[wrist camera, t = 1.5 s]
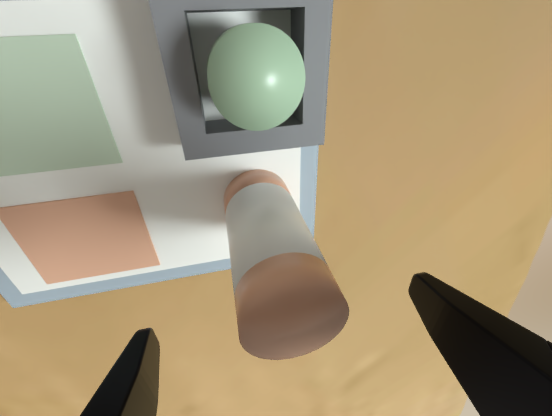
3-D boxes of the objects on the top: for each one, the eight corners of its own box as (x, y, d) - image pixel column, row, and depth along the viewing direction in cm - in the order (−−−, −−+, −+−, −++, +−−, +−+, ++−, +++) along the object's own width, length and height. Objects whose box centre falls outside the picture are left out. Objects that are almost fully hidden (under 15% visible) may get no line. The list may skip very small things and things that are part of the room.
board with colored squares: (322, -38, 11) (351, -53, 9) (309, 248, 19) (323, 275, 17) (-263, -35, 8) (-427, -56, 6) (18, 299, 16) (-9, 340, 14)
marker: (287, 165, 15) (355, 277, 8) (288, 220, 17) (343, 345, 10) (218, 174, 14) (232, 301, 8) (228, 230, 16) (245, 369, 10)
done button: (289, 21, 10) (306, 20, 8) (290, 112, 12) (304, 126, 10) (199, 25, 9) (198, 25, 8) (214, 119, 11) (215, 135, 10)
